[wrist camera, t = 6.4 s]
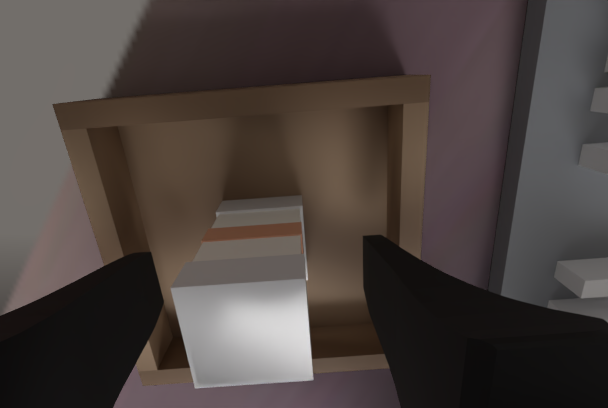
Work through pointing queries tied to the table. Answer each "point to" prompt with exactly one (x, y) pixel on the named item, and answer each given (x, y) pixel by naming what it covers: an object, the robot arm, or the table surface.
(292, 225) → the block
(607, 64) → the block
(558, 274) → the fuse holder
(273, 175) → the tray
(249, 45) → the table surface
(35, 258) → the table surface
